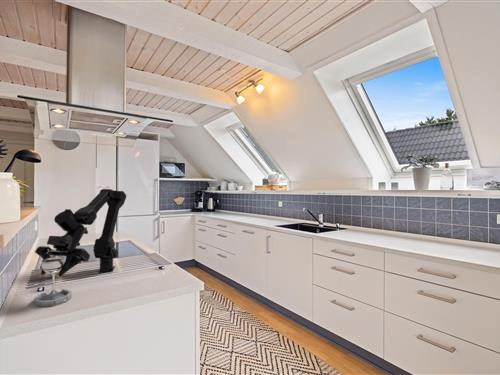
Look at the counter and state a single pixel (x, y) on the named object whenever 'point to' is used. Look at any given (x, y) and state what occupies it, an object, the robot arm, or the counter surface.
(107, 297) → the counter surface
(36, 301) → the holder
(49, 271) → the wineglass
